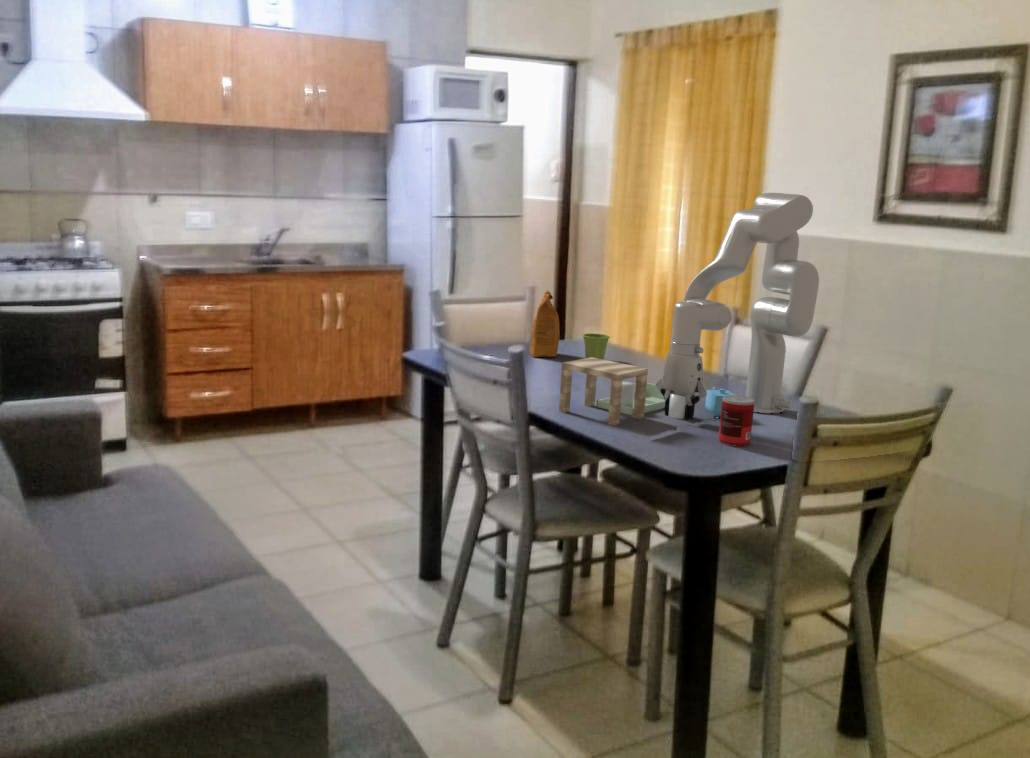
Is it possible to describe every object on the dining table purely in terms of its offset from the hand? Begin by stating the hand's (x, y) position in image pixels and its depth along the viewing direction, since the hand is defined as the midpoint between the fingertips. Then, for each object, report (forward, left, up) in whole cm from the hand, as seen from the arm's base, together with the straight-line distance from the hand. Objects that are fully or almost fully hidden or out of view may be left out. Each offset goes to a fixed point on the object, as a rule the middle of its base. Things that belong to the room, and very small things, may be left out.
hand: (678, 416), depth 259 cm
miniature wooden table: (+14, +15, -1) cm, 21 cm away
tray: (+14, -2, -1) cm, 14 cm away
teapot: (-4, -14, -1) cm, 15 cm away
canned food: (-21, +8, -1) cm, 23 cm away
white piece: (0, 0, -1) cm, 1 cm away
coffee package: (+80, -40, -1) cm, 89 cm away
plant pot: (+64, -48, -1) cm, 80 cm away
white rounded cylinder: (+14, +6, 0) cm, 15 cm away
